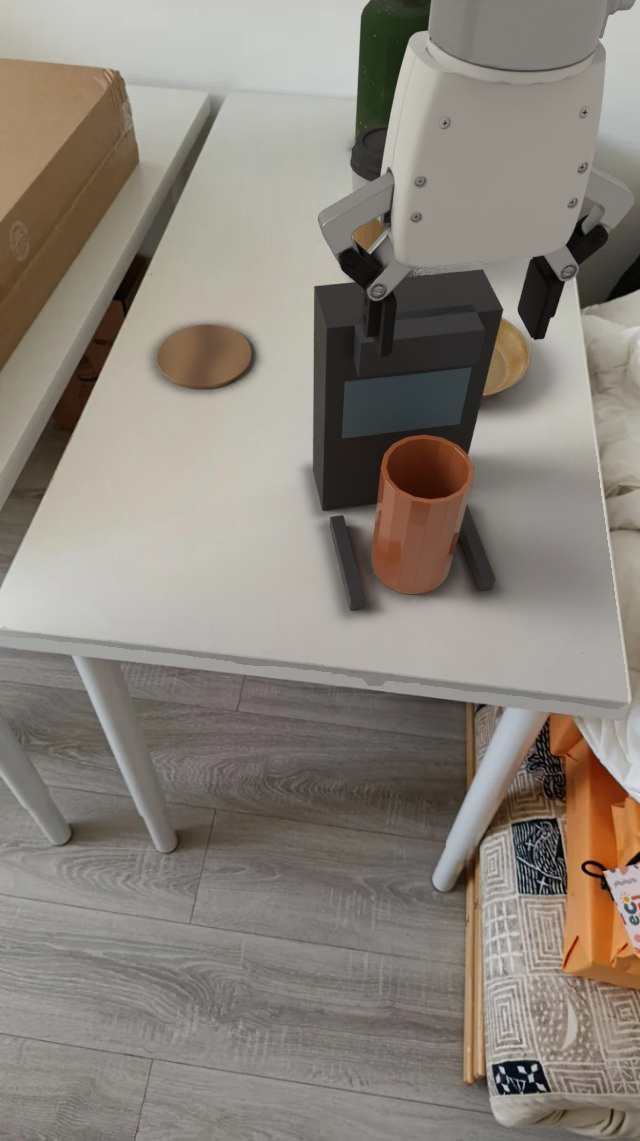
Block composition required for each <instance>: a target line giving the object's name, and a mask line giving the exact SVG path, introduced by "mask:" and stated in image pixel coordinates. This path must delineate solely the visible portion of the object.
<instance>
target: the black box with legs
mask: <svg viewBox="0 0 640 1141" xmlns="http://www.w3.org/2000/svg"><path fill="white" fill-rule="evenodd" d="M363 291H364V289H363V288H362V287H361V286H359V285H358V284H357V283H356V282H355V281H353V282H352V281H351V282H341V283H331V284H322V285H321V284H320V285H314V286H313V381H312V382H313V385H312V386H313V388H312V390H313V391H312V392H313V393H312V394H313V396H312V397H313V398H312V399H313V400H312V401H313V402H312V404H313V405H312V407H313V408H312V421H313V422H312V473H313V477H314V482H315V486H316V490H317V494H318V499H319V502H320V506H321V510H322V511H328V510H336V509H342V508H352V507H357V506H359V507H360V506H365V505H366V506H367V505H373V504H374V505H375V504H377V500H378V491H379V482H380V473H381V465H382V461H383V457H384V454H385V453H386V452H387V450H388V449H389V448H390V447H391V446H392V445H393V444H394V443H396V442H398V441H400V440H402V439H404V438H406V437H410V436H418V435H430V436H436V437H442V438H444V439H446V440H449V441H451V442H453V443H455V444H457V445H458V446H459V447H460V448H461V449H462V450H463V451H464V452H465V453H466V454H467V455H468V456H469V454H470V451H471V450H470V449H471V446H472V441H473V437H474V433H475V430H476V424H477V420H478V416H479V412H480V408H481V404H482V400H483V399H482V396H483V392H484V388H485V384H486V380H487V376H488V371H489V367H490V363H491V359H492V355H493V351H494V347H495V343H496V338H497V334H498V330H499V326H500V322H501V318H503V313H504V308H503V306H502V303H501V302H500V300H499V298H498V296H497V294H496V292H495V290H494V288H493V285H491V282H490V280H489V278H488V277H487V274H486V273H485V271H484V269H483V268H482V269H481V268H480V269H472V270H462V271H461V270H460V271H452V272H442V273H432V274H431V273H430V274H420V275H413V276H412V275H410V276H405V277H404V278H403V280H402V281H401V282H400V283H399V284H398V285H397V286H396V287H395V288H394V289H393V293H394V295H395V298H396V301H397V309H396V318H395V327H394V336H393V345H392V353H391V354H389V356H388V357H379V355H378V352H377V349H376V346H375V343H374V341H373V338H372V337H369V338H366V337H365V335H364V332H363V328H362V306H363ZM329 530H330V534H331V538H332V542H333V546H334V550H335V555H336V560H337V564H338V567H339V572H340V575H341V579H342V584H343V588H344V592H345V595H346V600H347V605H348V609H349V611H356V610H362V609H364V608H365V600H366V599H365V594H364V590H363V585H362V582H361V579H360V574H359V571H358V566H357V563H356V560H355V555H354V551H353V548H352V542H351V540H350V535H349V533H348V527H347V525H346V521H345V516H344V515H342V514H341V515H334V516H330V517H329ZM458 538H459V539H460V542H461V545H462V547H463V551H464V553H465V556H466V559H467V562H468V564H469V567H470V570H471V573H472V575H473V578H474V581H475V584H476V587H477V589H478V592H483V591H484V592H485V591H491V590H493V589H494V586H495V583H496V580H497V579H496V575H495V574H494V571H493V569H492V566H491V563H490V561H489V558H488V555H487V552H486V550H485V547H484V544H483V543H482V539H481V537H480V534H479V531H478V529H477V526H476V524H475V521H474V519H473V516H472V513H471V511H470V508H469V505H468V504H467V505H466V509H465V512H464V516H463V520H462V524H461V528H460V532H459V536H458Z"/></svg>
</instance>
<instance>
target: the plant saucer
mask: <svg viewBox="0 0 640 1141" xmlns="http://www.w3.org/2000/svg"><path fill="white" fill-rule="evenodd" d="M531 359H532V355H531V348H530V345H529V343H528V341H527V339H526V337H525V336H524V334H523V333H522V332H521V331H520V330H519V329H518V328H517V327H516V326H515V325H514V324H513V323H512V322H510V321H509V320H507V319H506V318H504V317H502V318H501V322H500V326H499V330H498V334H497V338H496V343H495V347H494V351H493V355H492V359H491V363H490V367H489V371H488V376H487V380H486V384H485V388H484V392H483V396H482V400H483V399H487V398H491V397H493V396H496V395H498V394H501V393H503V392H504V391H506V390H508V389H510V388H511V387H513V386H514V385H516V384H517V383H518V382H520V381H521V379H523V377H524V376H525V375H526V373H527V371H528V370H529V367H530V364H531Z"/></svg>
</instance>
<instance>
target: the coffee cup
mask: <svg viewBox="0 0 640 1141" xmlns="http://www.w3.org/2000/svg"><path fill="white" fill-rule="evenodd" d="M388 126H389V124H386V125H377V126H373V127H369V128H367V129H365V130H363V131H362V132H361V133H359V135H358V136H357V139H356V143H355V142H354V145H352V146H353V147H352V148H351V156H350V160H349V166H350V167H351V179H352V180H351V181H352V183H351V187H352V189H351V190H352V193H353V192H355V191H356V190H358V189H360V188H361V187H363V186H365V185H367V184H368V183H370V182H372V181H373V180H375V179H377V178H379V177H380V176H381V169H382V162H383V155H384V149H385V143H386V137H387V131H388ZM387 228H388V227H386V226H385V227H381V225H380V222H379V218H376V219H374V220H373V221H371V222H369V223H367V224H366V225H364V226H362V227H360V228H359V229H357V230H356V231H355V232H354V233H353V235H352V238H353V239H354V240H355V241H356V242H357V243H358V244H359V245H360V246H361V247H362V248H364V249H365V250H366V251H367V250H368V249H369V248H370V247H371V246H372V244H373V243H374V242H375V241H376V240H377V239H378V238H379V237H380V235H381V234H382V233H383V232H384V231H385V230H386V229H387Z"/></svg>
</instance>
